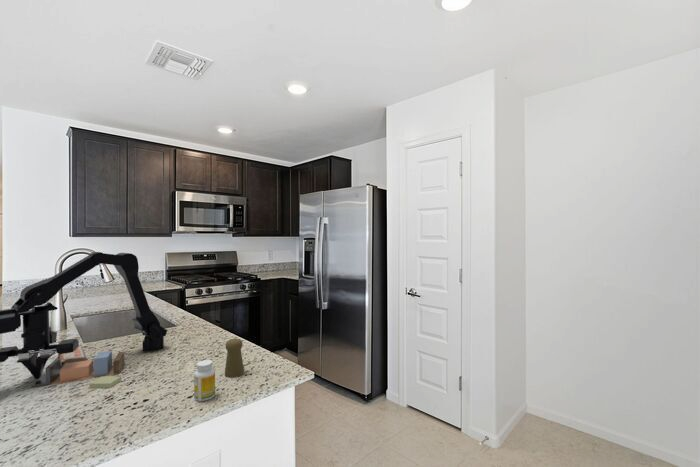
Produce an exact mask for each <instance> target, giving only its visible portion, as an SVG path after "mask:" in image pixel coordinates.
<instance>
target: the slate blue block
mask: <svg viewBox="0 0 700 467" xmlns="http://www.w3.org/2000/svg"><path fill="white" fill-rule="evenodd" d="M112 366H113V351H112V350H107V351H100V352H98V353H97V354H96V356H95V357H94V358H93V367H94V376H100V375H106V374H108V373H109V371H110V370H111V368H112Z"/></svg>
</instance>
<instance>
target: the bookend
mask: <svg viewBox="0 0 700 467" xmlns="http://www.w3.org/2000/svg"><path fill="white" fill-rule="evenodd" d="M59 375H60V358H57V359H55V360H52V362H51V363H49V364H48V365H47V366H46V367H45V373H44V374H43V375H41V377H40V378H39V379H37V381H36V382H34V383H33V384H32V386H31V387H36V388H39V387H38V386H43V387H45V386H44V385H49V386H51V385H50V384H51V383H52V382H53V381H54V380H55V379H56V378H57V377H58V376H59Z"/></svg>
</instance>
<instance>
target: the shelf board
mask: <svg viewBox="0 0 700 467" xmlns="http://www.w3.org/2000/svg"><path fill="white" fill-rule="evenodd" d="M124 366H125V351H119V352H118V353H117V355H116V356H115V358H114V359H113V360H112V368H111V370H110V371H109V373H108V374H106V375H100V376H94V370H93V372H92V373H91V375H90V376H89V377H85V378H79V379H73V380H67V381H62V382H60V375H59V376H58V377H57V378H56V379H55V380H54V381H53V382H52V383H51V384H50V385H44V386H38V387H32V386H30V389H35V388H42V387H49V386H55V385H60V384H66V383H72V382H79V381H83V380H91V379H98V378H100V377H102V376H115V375H120V373H121V372H122V370H123V367H124Z"/></svg>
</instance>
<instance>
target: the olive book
mask: <svg viewBox="0 0 700 467" xmlns="http://www.w3.org/2000/svg"><path fill="white" fill-rule="evenodd" d="M121 382H122V376H121V375H120V376H118V375H117V376H115V375H110V376H102V377H97V378H96V379H95V380H94V381H91V382H90V383H89V389H111V388H113V387H114V386H116V385H118V384H119V383H121Z"/></svg>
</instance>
